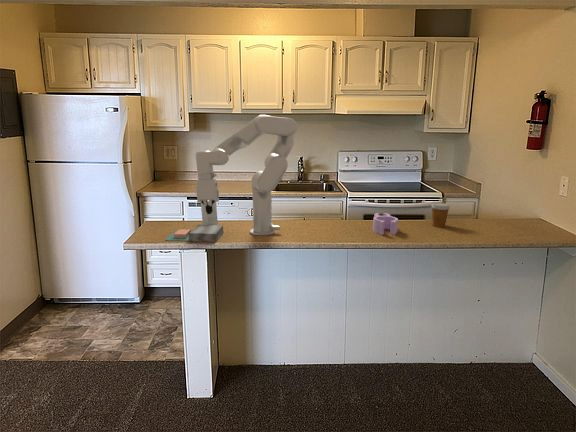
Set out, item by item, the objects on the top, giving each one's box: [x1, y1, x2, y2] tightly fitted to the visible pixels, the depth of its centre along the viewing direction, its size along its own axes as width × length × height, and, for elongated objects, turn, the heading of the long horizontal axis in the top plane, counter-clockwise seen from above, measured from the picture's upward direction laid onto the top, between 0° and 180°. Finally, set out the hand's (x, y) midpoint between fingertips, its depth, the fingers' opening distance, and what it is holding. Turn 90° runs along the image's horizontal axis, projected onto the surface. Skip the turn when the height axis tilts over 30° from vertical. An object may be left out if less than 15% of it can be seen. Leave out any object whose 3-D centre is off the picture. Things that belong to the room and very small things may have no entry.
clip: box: [372, 212, 399, 236], centre depth 236 cm, size 20×12×7 cm, turn 0°
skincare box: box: [200, 200, 219, 225], centre depth 241 cm, size 8×6×15 cm
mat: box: [165, 230, 190, 242], centre depth 224 cm, size 11×16×1 cm
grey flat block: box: [188, 224, 224, 243], centre depth 222 cm, size 13×16×4 cm
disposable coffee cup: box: [430, 202, 450, 228], centre depth 243 cm, size 10×10×12 cm
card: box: [173, 228, 192, 238], centre depth 224 cm, size 6×9×2 cm, turn 176°
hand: (209, 213), depth 220 cm, fingers closed
